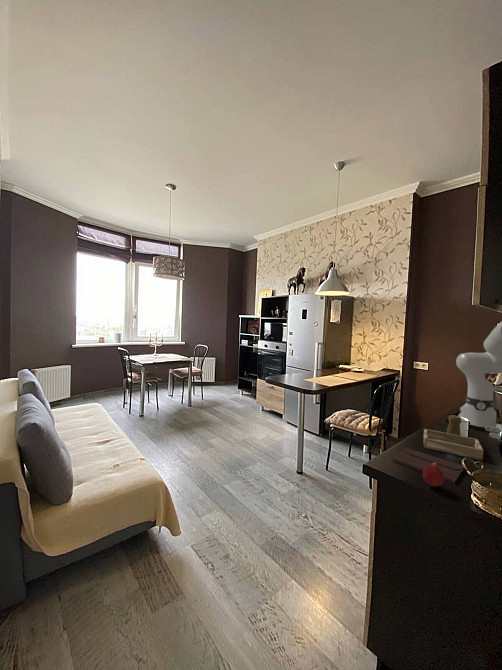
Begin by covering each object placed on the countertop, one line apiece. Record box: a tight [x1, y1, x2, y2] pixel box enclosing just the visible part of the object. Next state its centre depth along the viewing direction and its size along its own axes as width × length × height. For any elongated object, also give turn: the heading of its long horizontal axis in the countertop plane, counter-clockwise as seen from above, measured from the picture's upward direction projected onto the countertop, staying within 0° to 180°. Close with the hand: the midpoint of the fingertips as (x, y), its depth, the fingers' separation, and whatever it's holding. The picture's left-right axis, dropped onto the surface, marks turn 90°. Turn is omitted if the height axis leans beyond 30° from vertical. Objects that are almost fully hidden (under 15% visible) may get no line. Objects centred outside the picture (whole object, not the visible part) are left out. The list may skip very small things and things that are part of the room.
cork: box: [446, 414, 463, 436], centre depth 137 cm, size 6×6×11 cm
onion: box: [422, 463, 445, 488], centre depth 95 cm, size 6×6×8 cm
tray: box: [423, 428, 484, 461], centre depth 127 cm, size 14×20×4 cm
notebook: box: [392, 447, 465, 485], centre depth 110 cm, size 15×20×2 cm
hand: (487, 431), depth 130 cm, fingers open, 8 cm apart
